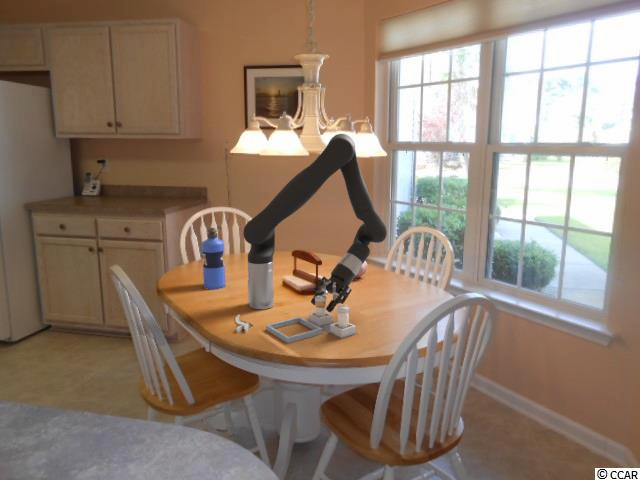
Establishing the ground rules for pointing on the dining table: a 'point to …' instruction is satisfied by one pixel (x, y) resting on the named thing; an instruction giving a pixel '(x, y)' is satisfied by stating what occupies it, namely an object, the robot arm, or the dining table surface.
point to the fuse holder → (332, 326)
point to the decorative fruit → (362, 270)
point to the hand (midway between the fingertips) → (320, 307)
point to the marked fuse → (320, 306)
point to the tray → (315, 331)
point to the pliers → (242, 325)
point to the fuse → (343, 316)
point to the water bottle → (213, 261)
